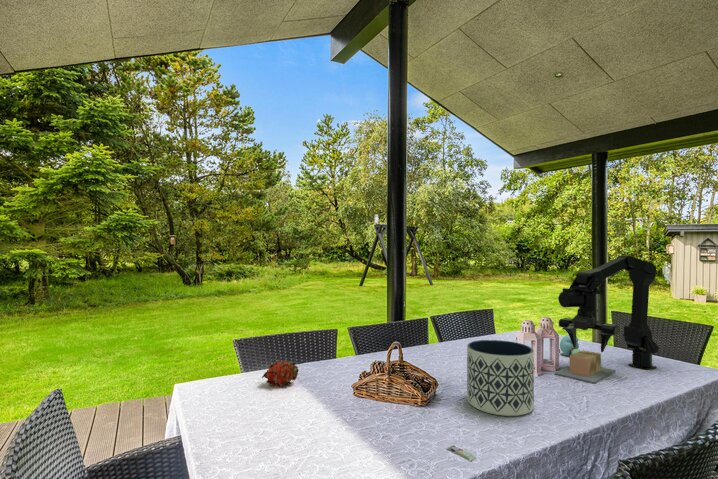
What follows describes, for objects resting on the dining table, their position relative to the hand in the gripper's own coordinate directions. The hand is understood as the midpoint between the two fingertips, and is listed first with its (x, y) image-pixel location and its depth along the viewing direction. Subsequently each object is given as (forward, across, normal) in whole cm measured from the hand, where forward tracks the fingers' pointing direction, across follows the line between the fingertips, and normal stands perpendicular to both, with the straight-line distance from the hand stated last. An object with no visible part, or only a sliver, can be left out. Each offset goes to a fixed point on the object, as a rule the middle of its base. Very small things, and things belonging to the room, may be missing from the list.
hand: (588, 349), depth 146 cm
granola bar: (+8, +4, -84) cm, 84 cm away
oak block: (+4, 0, +3) cm, 6 cm away
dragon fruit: (+8, -60, -92) cm, 110 cm away
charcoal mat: (+8, 0, -3) cm, 8 cm away
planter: (+8, -5, -52) cm, 53 cm away
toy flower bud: (+8, -11, +17) cm, 22 cm away
